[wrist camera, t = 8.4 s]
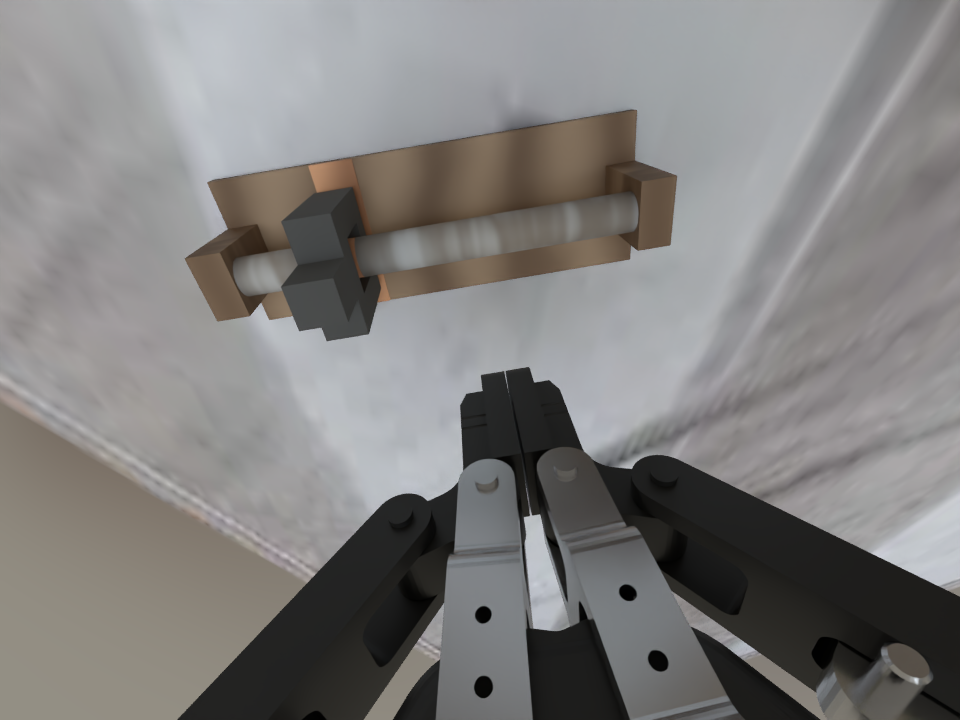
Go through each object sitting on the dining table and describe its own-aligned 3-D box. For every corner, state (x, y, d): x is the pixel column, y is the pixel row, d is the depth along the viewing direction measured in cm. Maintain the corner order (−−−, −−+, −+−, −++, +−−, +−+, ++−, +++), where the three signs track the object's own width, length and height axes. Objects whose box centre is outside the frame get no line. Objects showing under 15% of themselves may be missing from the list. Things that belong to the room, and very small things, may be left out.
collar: (352, 186, 28) (316, 229, 19) (381, 287, 31) (361, 361, 23) (313, 193, 28) (260, 239, 19) (347, 293, 31) (314, 368, 23)
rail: (632, 109, 29) (682, 115, 23) (626, 255, 34) (665, 290, 28) (212, 180, 29) (155, 203, 23) (272, 315, 34) (238, 362, 28)
